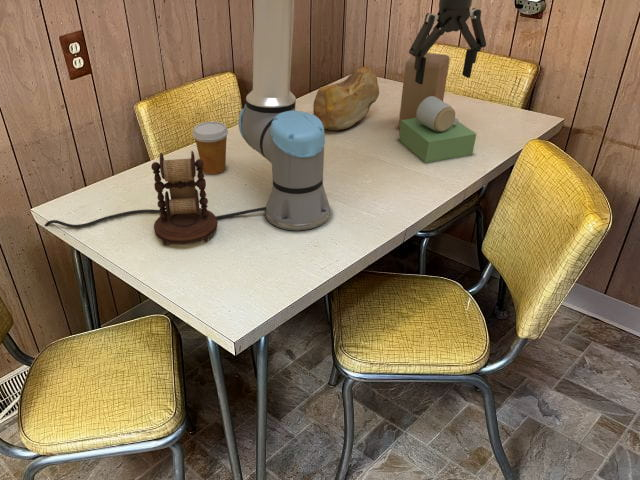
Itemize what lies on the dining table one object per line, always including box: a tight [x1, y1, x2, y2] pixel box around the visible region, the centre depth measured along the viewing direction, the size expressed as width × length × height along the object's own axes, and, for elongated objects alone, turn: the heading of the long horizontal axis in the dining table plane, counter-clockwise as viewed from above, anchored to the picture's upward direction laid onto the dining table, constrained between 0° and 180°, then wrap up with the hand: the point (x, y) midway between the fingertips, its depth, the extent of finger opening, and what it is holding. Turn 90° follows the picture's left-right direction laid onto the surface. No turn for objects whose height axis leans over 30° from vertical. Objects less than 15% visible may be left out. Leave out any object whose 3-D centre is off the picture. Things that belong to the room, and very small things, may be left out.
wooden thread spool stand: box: [150, 150, 218, 246], centre depth 132 cm, size 15×15×20 cm
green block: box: [398, 118, 477, 164], centre depth 164 cm, size 14×16×6 cm
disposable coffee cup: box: [192, 121, 229, 175], centre depth 159 cm, size 10×10×12 cm
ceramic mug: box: [416, 96, 459, 132], centre depth 159 cm, size 11×8×8 cm
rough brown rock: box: [312, 65, 380, 132], centre depth 181 cm, size 23×17×15 cm
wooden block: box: [398, 52, 451, 129], centre depth 171 cm, size 10×10×20 cm
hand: (442, 79), depth 154 cm, fingers open, 13 cm apart
